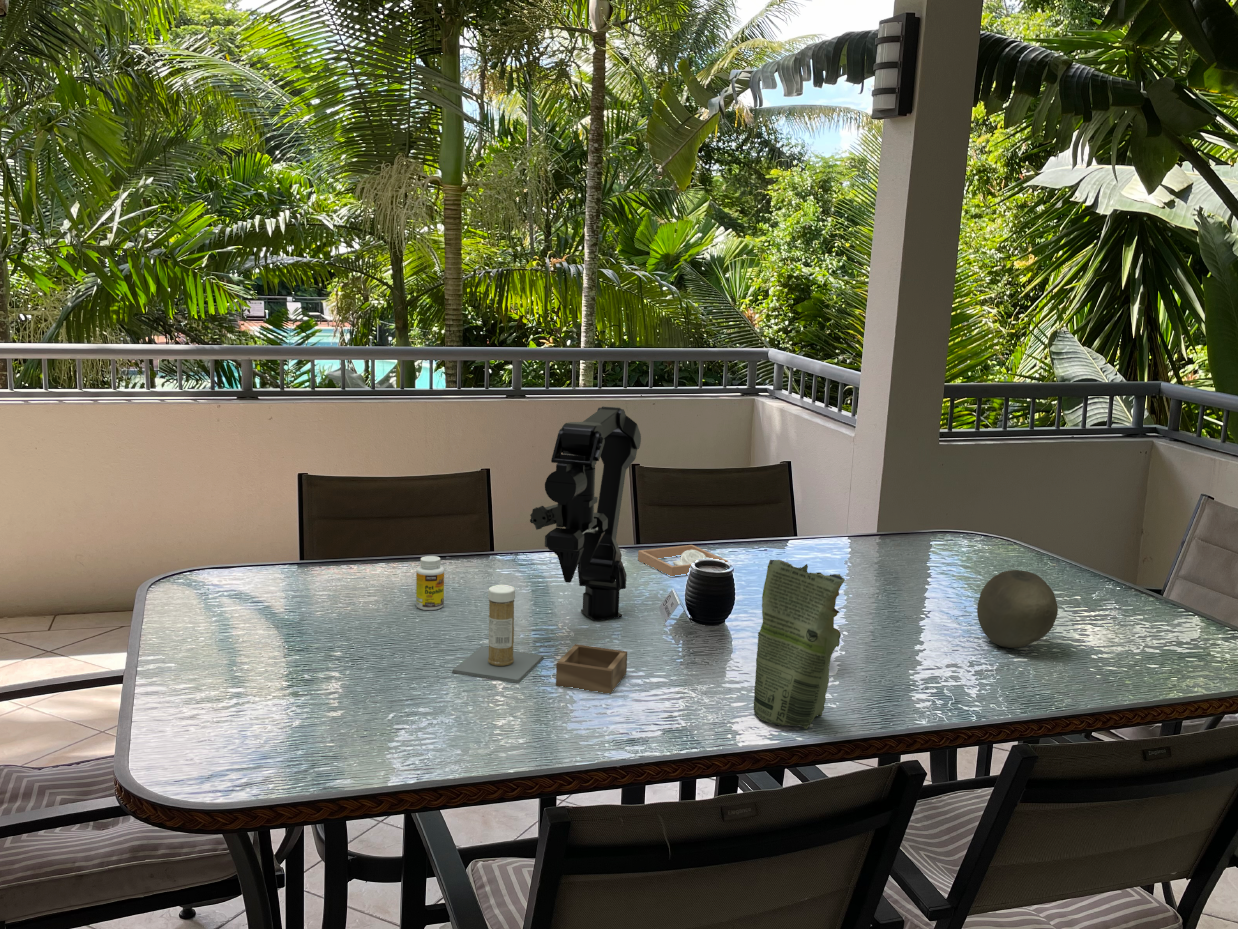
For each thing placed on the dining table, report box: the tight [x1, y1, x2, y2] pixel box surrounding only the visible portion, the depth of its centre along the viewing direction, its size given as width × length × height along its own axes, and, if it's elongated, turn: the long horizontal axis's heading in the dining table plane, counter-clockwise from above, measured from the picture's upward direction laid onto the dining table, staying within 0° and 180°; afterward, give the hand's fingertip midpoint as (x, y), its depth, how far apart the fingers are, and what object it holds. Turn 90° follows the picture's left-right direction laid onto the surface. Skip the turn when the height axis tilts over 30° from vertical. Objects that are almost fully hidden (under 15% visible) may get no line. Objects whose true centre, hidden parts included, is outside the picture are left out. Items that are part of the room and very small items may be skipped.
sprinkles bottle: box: [487, 584, 516, 666], centre depth 171 cm, size 5×5×13 cm
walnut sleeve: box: [555, 643, 628, 695], centre depth 168 cm, size 10×10×4 cm
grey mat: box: [451, 645, 545, 684], centre depth 173 cm, size 12×12×1 cm
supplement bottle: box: [415, 555, 445, 611], centre depth 201 cm, size 6×6×10 cm
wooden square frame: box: [637, 544, 729, 576], centre depth 239 cm, size 16×16×2 cm
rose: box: [672, 550, 709, 566], centre depth 238 cm, size 10×4×10 cm
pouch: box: [753, 559, 846, 730], centre depth 154 cm, size 11×12×25 cm
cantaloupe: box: [976, 569, 1059, 649], centre depth 190 cm, size 14×14×15 cm
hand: (576, 575), depth 183 cm, fingers open, 9 cm apart
